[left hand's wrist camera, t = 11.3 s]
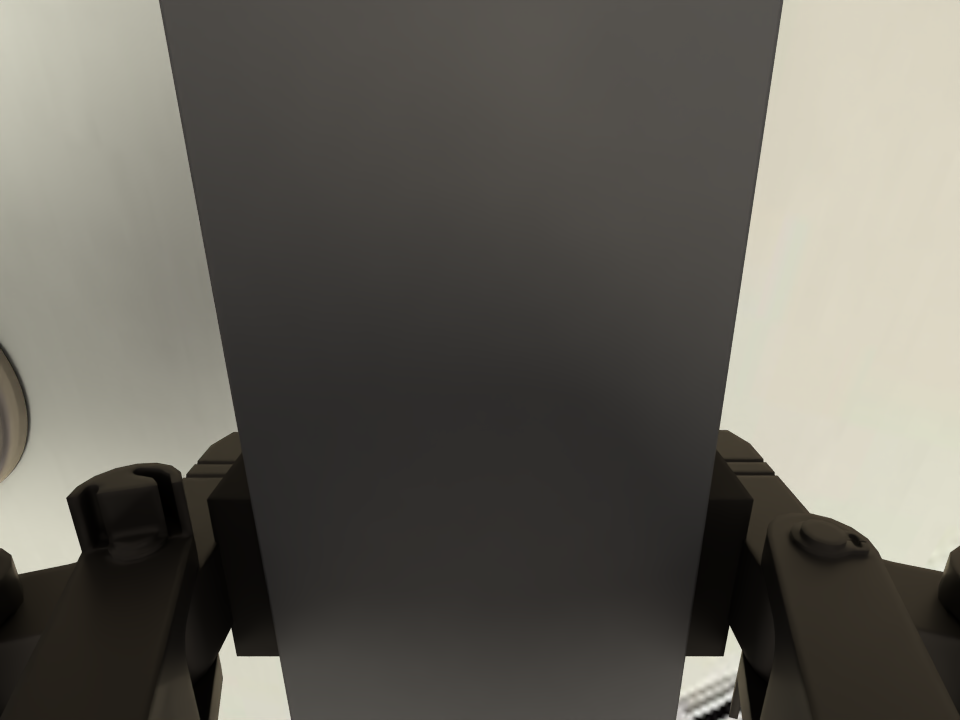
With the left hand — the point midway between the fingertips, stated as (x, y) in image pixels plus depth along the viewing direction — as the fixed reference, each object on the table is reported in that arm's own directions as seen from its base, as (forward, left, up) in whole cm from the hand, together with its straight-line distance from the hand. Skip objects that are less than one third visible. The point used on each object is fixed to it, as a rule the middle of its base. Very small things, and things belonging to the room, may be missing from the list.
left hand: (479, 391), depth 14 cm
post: (+28, -20, -1) cm, 34 cm away
